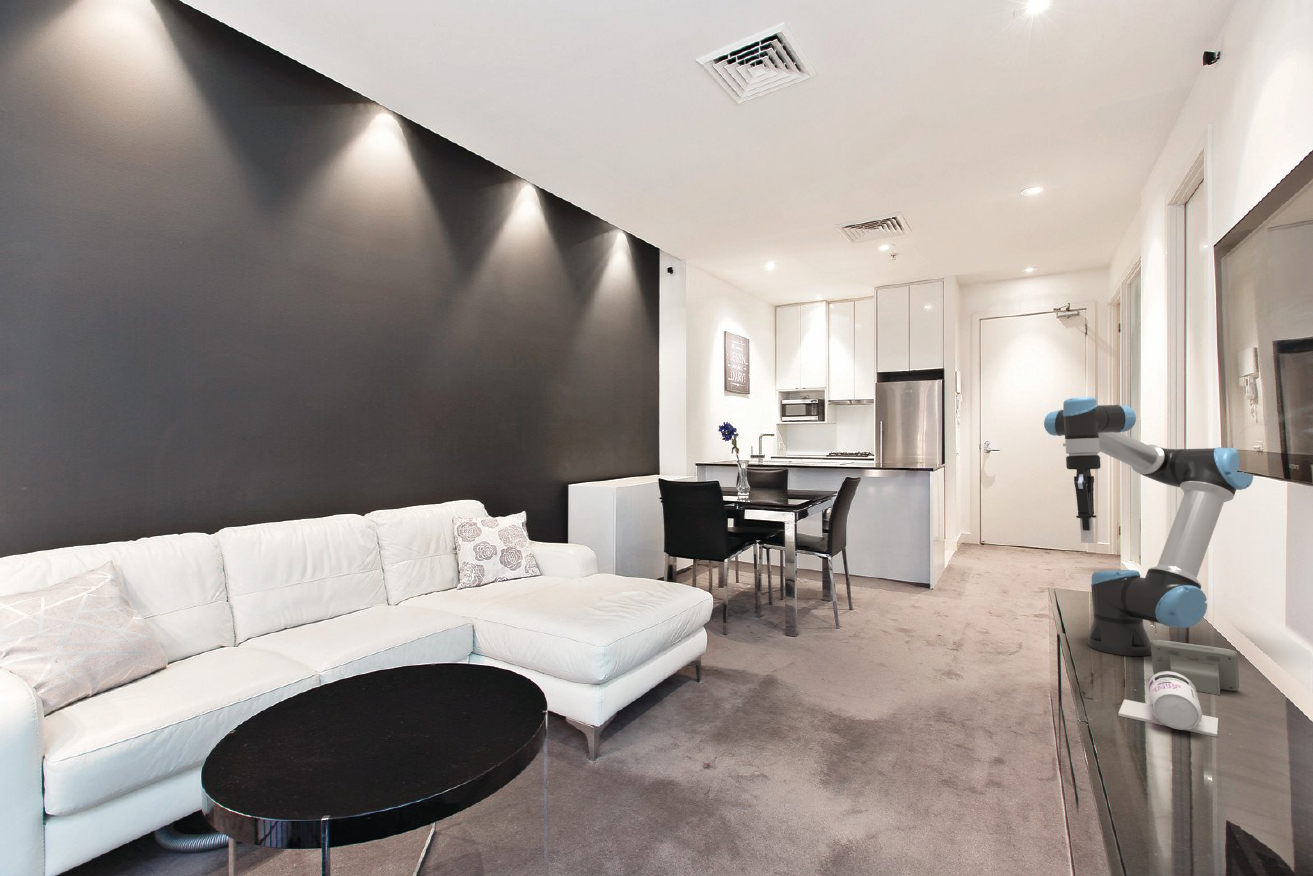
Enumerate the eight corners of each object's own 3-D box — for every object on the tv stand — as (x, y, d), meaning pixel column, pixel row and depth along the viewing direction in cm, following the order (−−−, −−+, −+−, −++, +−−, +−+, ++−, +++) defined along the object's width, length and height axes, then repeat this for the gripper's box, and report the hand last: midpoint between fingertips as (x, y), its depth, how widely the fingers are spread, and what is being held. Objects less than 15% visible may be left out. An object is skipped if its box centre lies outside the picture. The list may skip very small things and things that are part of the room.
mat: (1124, 702, 139) (1124, 699, 139) (1218, 721, 128) (1218, 718, 128) (1118, 715, 132) (1118, 713, 132) (1217, 737, 121) (1217, 734, 121)
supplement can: (1177, 715, 134) (1181, 741, 122) (1139, 685, 138) (1140, 707, 126) (1206, 692, 131) (1214, 716, 119) (1167, 662, 135) (1170, 682, 123)
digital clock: (1243, 691, 143) (1240, 646, 144) (1236, 701, 138) (1232, 655, 138) (1157, 674, 156) (1155, 633, 157) (1147, 682, 151) (1145, 639, 151)
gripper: (1070, 454, 168) (1075, 538, 167) (1061, 455, 159) (1066, 544, 158) (1103, 454, 163) (1108, 540, 162) (1095, 454, 154) (1101, 546, 153)
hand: (1087, 542), depth 160 cm, fingers closed
